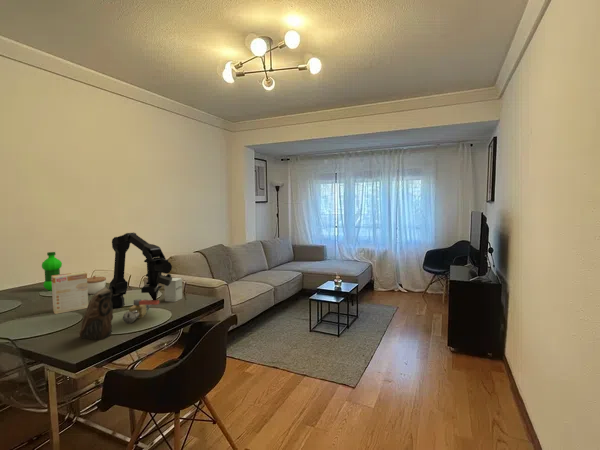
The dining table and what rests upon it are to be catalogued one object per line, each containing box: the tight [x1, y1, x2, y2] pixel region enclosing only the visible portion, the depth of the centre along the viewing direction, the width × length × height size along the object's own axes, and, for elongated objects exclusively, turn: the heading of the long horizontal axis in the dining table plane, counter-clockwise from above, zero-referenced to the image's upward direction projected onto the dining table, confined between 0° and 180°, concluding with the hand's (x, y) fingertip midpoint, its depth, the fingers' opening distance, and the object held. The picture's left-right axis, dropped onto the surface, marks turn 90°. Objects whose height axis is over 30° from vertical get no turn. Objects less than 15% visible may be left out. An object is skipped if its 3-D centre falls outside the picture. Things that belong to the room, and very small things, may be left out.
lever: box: [133, 298, 160, 306], centre depth 163 cm, size 12×4×2 cm, turn 90°
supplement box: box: [164, 277, 183, 303], centre depth 191 cm, size 7×7×13 cm
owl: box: [79, 285, 114, 341], centre depth 139 cm, size 13×13×20 cm
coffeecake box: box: [51, 271, 89, 315], centre depth 173 cm, size 15×7×20 cm, turn 135°
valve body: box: [122, 298, 152, 325], centre depth 164 cm, size 6×21×6 cm, turn 6°
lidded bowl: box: [87, 275, 107, 295], centre depth 207 cm, size 13×13×11 cm
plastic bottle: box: [41, 251, 63, 292], centre depth 214 cm, size 10×10×25 cm
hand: (154, 301), depth 165 cm, fingers closed, pressing on lever
